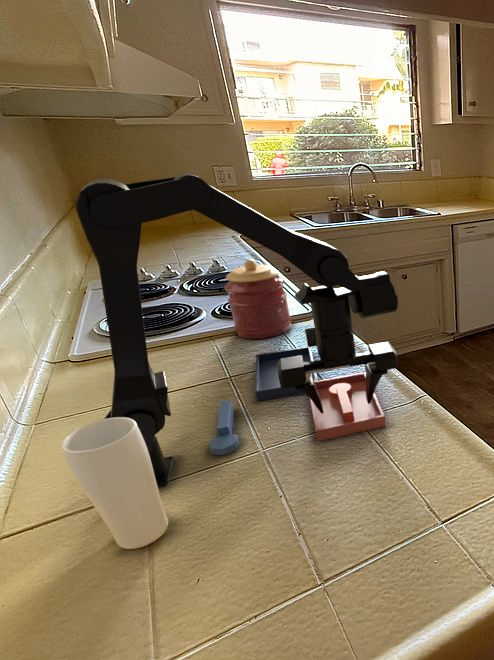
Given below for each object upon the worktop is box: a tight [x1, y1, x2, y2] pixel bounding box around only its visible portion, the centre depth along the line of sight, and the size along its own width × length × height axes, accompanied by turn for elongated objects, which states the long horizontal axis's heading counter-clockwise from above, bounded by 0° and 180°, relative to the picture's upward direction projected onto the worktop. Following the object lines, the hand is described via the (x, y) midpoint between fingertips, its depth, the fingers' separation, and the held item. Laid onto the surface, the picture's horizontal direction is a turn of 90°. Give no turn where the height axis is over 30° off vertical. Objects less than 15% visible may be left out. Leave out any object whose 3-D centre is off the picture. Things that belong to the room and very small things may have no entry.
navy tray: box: [254, 346, 319, 402], centre depth 93 cm, size 17×11×2 cm, turn 23°
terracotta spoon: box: [329, 383, 354, 423], centre depth 82 cm, size 13×4×2 cm, turn 23°
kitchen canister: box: [223, 258, 292, 340], centre depth 111 cm, size 13×13×18 cm
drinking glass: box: [60, 417, 169, 550], centre depth 53 cm, size 7×7×15 cm
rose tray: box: [309, 371, 387, 442], centre depth 82 cm, size 17×11×2 cm, turn 23°
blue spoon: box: [208, 399, 240, 456], centre depth 75 cm, size 13×4×2 cm, turn 23°
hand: (345, 407), depth 80 cm, fingers open, 8 cm apart
